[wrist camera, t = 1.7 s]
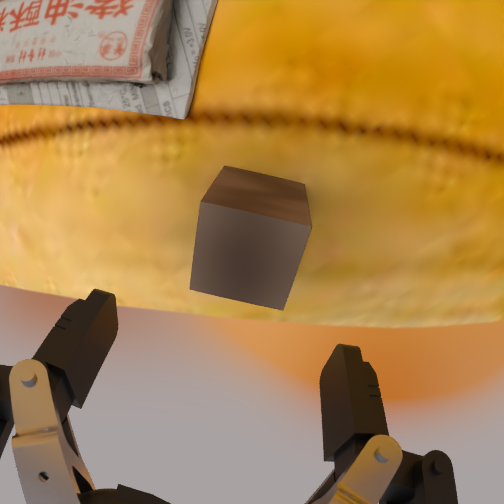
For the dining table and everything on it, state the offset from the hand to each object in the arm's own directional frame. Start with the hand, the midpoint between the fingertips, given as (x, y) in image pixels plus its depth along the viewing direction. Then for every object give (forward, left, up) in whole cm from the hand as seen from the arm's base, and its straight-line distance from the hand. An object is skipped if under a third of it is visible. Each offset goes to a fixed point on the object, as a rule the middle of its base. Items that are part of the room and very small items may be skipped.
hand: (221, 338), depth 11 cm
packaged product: (+14, -10, -12) cm, 21 cm away
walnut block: (0, 0, -11) cm, 11 cm away
